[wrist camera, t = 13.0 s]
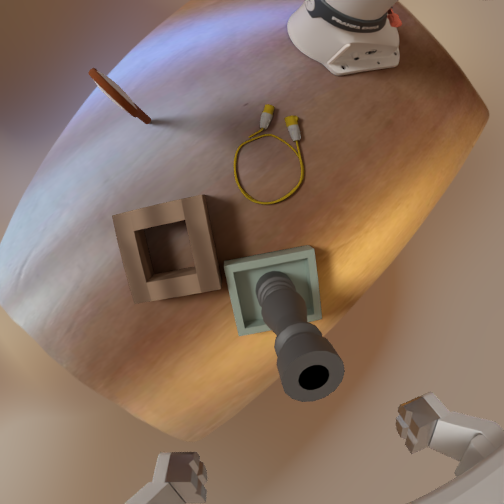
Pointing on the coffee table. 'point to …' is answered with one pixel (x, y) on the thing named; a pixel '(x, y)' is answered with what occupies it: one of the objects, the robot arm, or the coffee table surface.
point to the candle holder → (297, 341)
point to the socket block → (138, 258)
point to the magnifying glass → (118, 95)
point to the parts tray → (253, 267)
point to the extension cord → (294, 133)
